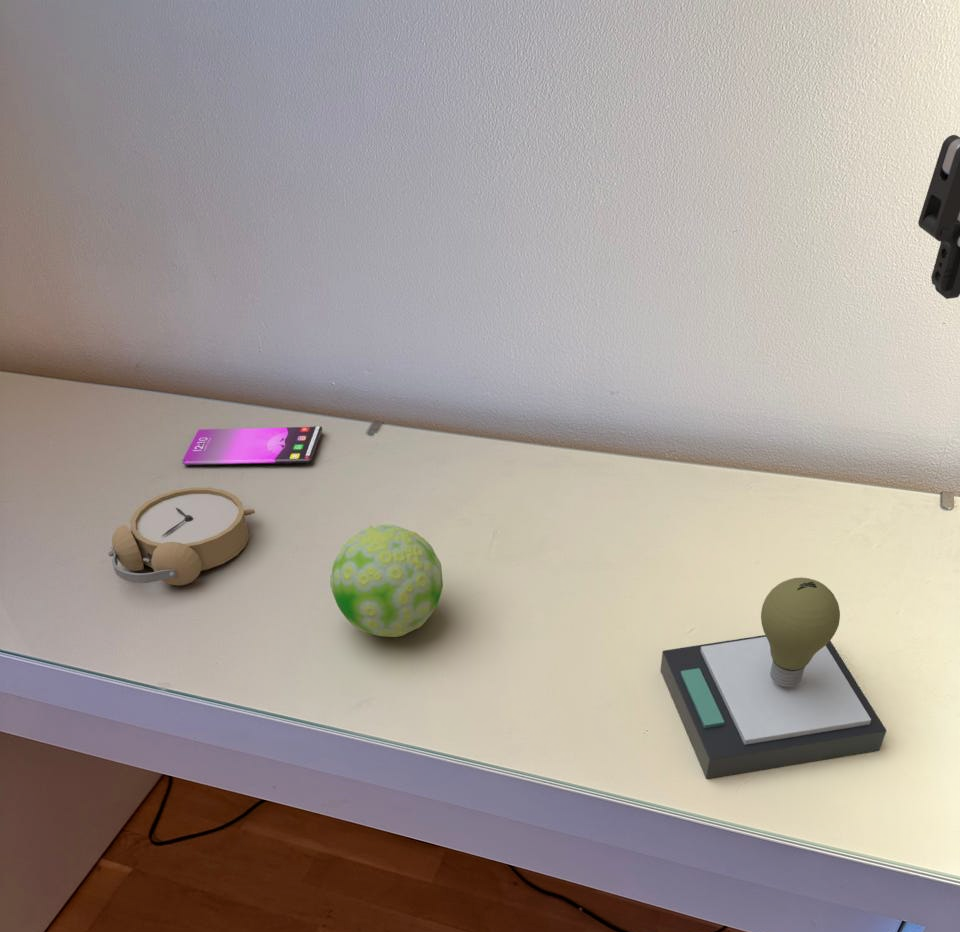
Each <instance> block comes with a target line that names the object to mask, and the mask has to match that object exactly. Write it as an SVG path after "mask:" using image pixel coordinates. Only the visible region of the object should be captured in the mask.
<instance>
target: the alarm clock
mask: <svg viewBox="0 0 960 932" xmlns="http://www.w3.org/2000/svg"><path fill="white" fill-rule="evenodd" d="M255 511H256V510H255V509H254V508H247V509H244V505H243V502H242V500H241V499H240V498H238V496H236V494H233V493H231V492H230V491H226V490H224V489H220V488H213V487H187V488H182V489H174V490H172V491H169V492H165V493H163V494H159V495H157V496H155V497H154V498H151V499H150V500H148V501H146V502H144V503H143V504H142V505H141V506H140V507H138V508H137V509H136V510H135V511H134V513H133V515H132V516H131V518H130V520H129V527H128V525H127V524H122V525H120V526H119V527H117V528H116V529H115V530H114V531H113V534H112V537H111V546H112V547H110V549H111V550H109V551H108V552H107V553H108V556H109V557H111V562H112V566H113V570H114V573H115V575H116V576H117V577H119V578H121V579H122V580H124V581H125V582H130V583H137V584H147V583H153V582H157V581H163V582H164V583H166V584H169V585H172V586H178V587H179V586H180V587H181V586H185V585H188V584H190V583H192V582H194V581H195V580H196V579H197V578H198V577H199V576H200V573H201V571H206V570H210V569H213V568H215V567H218V566H220V565H223V564H225V563H227V562H228V561H230V560H231V559H232V560H233V558H235V557H236V556H238V555H239V554H240V552H241V551H243V550H244V548H245V547H246V546H247V543H248V540H249V538H250V534H249V529H248V524H247V522H246V516H250V515H253V514H255V513H256V512H255ZM118 563H120V564H121V566H122V567H124V568H125V569H127V570H128V571H126V570H124V569H122V568H121V567H119V566H118ZM144 565H146V566H147V567H150V568H151V569H152V570H153V571H151V572H146V573H145V572H143V573H139V572H138V571H143V570H144V567H145V566H144ZM130 571H133V572H130ZM137 572H138V573H137Z"/></svg>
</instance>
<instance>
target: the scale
mask: <svg viewBox="0 0 960 932" xmlns="http://www.w3.org/2000/svg"><path fill="white" fill-rule="evenodd" d="M772 662H773V659H772V656H771V652H770V644H769V641H768V639H767V637H766V635H765V634H762V635H756V636H748V637H743V638H737V639H729V640H723V641H717V642H709V643H703V644H698V645H691V646H685V647H677V648H672V649H664V650H662V653H661V663H660V673H661V675H662V678H663V679H664V682H665V685H666V687H667V690H668V692H669V694H670V697H671V699H672V701H673V704H674V706H675V708H676V711H677V713H678V715H679V717H680V720H681V723H682V725H683V727H684V730H685V733H686V735H687V736H688V739H689V741H690V743H691V746H692V749H693V751H694V753H695V755H696V758H697V760H698V762H699V765H700V767H701V770H702V772H703V774H704V777H705V779H706V780H709V779H714V778H721V777H727V776H732V775H739V774H744V773H745V774H746V773H751V772H757V771H763V770H769V769H775V768H782V767H788V766H792V765H800V764H806V763H811V762H817V761H818V762H819V761H823V760H829V759H830V760H831V759H836V758H842V757H849V756H854V755H860V754H866V753H872V752H873V753H874V752H877V751H880V750H881V748H882V745H883V742H884V739H885V737H886V733H887V729H886V727H885V725H884V724H883V722H882V721H881V719H880V718H879V716H878V714H877V713H876V711H875V710H874V707H872V704H871V703H870V701H869V700H868V698H867V697H866V695H865V694H864V692H863V690H862V689H861V687H860V686H859V684H858V682H857V681H856V679H855V677H854V676H853V674H852V673H851V671H850V669H849V668H848V666H847V664H846V662H844V660H843V658H842V657H841V655H840V654H839V651H838V650H837V649H836V647H835V646H834V644H833V642H832V640H830V641H829V642H828V643H827V644H826V645H825V646H824V647H823V648H822V649H820V650H819V651H818V652H817V653H815V654H814V656H813V657H812V659H811V661H810V662H809V663H808V664H807V665H806V667H805V668H804V672H803V676H802V680H801V682H800V683H799V684H797V685H795V686H792V687H785V686H781V685H779V684H777V683H775V682H774V681H773V680H772V678H771V676H770V672H771V666H772Z"/></svg>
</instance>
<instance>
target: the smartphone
mask: <svg viewBox="0 0 960 932" xmlns="http://www.w3.org/2000/svg"><path fill="white" fill-rule="evenodd" d="M322 432H323V426H287V427H245V428H243V427H242V428H240V427H239V428H206V429H205V428H203V429H201V428H200V429H198V430H197V431H196V433H195V435H194V437H193V439H192V441H191V442H190V445H189V446H188V448H187V451H185V455H184V456H183V458H182V460H181V461H182V464H183V466H220V465H221V466H224V465H225V466H226V465H277V464H279V465H280V464H281V465H282V464H310V463H311V462H312V460H313V457H314V455H315V452H316V449H317V447H318V443H319V441H320V438H321V434H322Z"/></svg>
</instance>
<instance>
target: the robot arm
mask: <svg viewBox="0 0 960 932" xmlns="http://www.w3.org/2000/svg"><path fill="white" fill-rule="evenodd" d="M930 179H931V180H930V183H929V186H928V189H927V192H926V195H925V199H924V202H923V205H922V209H921V211H920V215H919V218H918V223H917V224H918V226H919V228H920V229H922V230H923V231H924V232H926V233H927V234H928V235H930V236H931V237H932V238H933V239H935V240H936V241H937V242H940V243H939V248H938V251H937V255H936V258H935V263H934V265H933V270H932V273H931V277H930V279H931V284H932V285H933V286H934V288H935V291H936V292H937V293H938V294H939V295H941V296H942V297H943V298H944V299H946V300H950V299H957V298H959V297H960V136H959V135H957V134H951V135H949V136H947V137H946V138H945V139H944V140H943V142H942V144H941V148H940V150H939V153H938V157H937V160H936V162H935V167H934V170H933V173H932V176H931V178H930Z"/></svg>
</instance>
